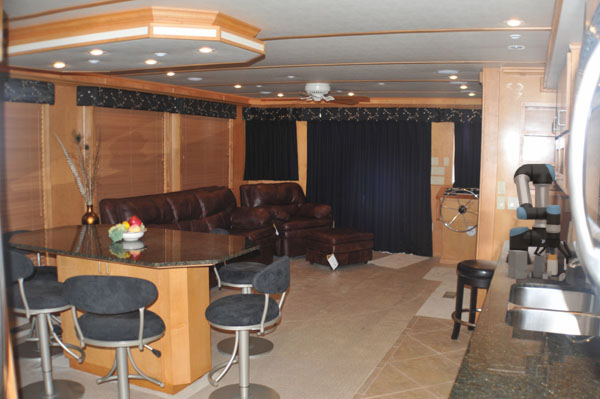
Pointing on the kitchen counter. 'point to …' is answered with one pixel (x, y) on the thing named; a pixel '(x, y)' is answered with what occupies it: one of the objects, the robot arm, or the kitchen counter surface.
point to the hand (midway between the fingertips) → (552, 268)
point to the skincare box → (517, 264)
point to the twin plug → (538, 265)
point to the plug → (552, 263)
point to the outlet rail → (548, 276)
